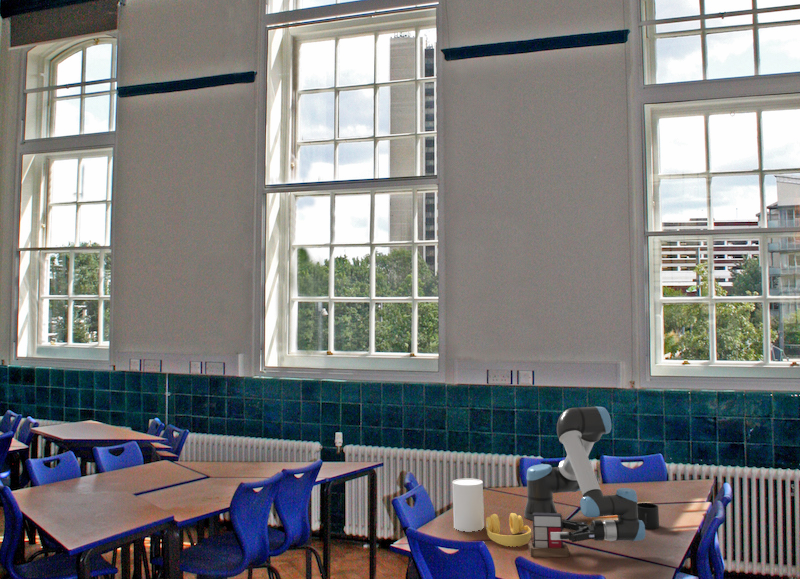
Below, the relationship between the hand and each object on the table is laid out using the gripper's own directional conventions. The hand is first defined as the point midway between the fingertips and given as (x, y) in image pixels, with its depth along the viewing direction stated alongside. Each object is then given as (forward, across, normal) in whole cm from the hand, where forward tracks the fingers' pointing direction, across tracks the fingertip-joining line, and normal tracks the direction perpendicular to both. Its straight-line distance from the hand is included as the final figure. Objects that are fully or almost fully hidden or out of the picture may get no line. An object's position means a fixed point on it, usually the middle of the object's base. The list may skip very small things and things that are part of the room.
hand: (547, 530), depth 253 cm
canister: (+30, +35, -9) cm, 47 cm away
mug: (-48, +34, -9) cm, 60 cm away
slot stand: (0, 0, -9) cm, 9 cm away
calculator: (0, 0, -9) cm, 9 cm away
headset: (+14, +19, -9) cm, 25 cm away
